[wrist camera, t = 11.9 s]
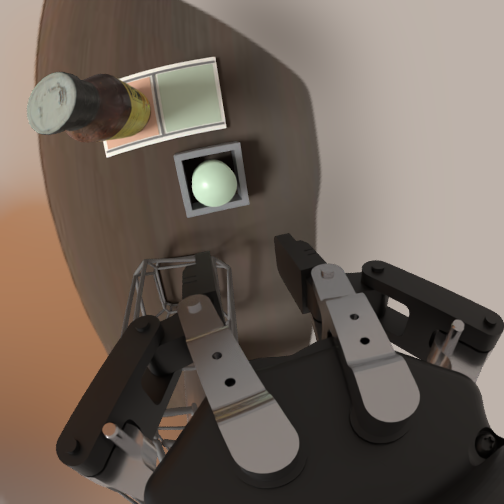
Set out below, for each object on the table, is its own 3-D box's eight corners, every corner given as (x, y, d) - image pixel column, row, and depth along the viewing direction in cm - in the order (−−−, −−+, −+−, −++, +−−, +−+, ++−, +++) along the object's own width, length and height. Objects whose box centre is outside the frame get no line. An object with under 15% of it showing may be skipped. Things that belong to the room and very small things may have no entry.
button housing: (244, 198, 37) (249, 204, 34) (187, 210, 36) (187, 217, 33) (235, 141, 33) (239, 142, 31) (175, 153, 32) (173, 155, 30)
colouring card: (225, 127, 32) (226, 127, 32) (108, 157, 30) (106, 157, 30) (214, 57, 28) (215, 56, 27) (95, 88, 26) (93, 87, 25)
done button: (234, 193, 34) (240, 201, 31) (196, 201, 34) (197, 211, 30) (228, 155, 32) (233, 159, 28) (188, 163, 31) (187, 168, 28)
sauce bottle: (159, 96, 28) (120, 59, 11) (142, 142, 30) (85, 163, 13) (113, 86, 26) (35, 51, 8) (98, 131, 28) (7, 145, 10)
